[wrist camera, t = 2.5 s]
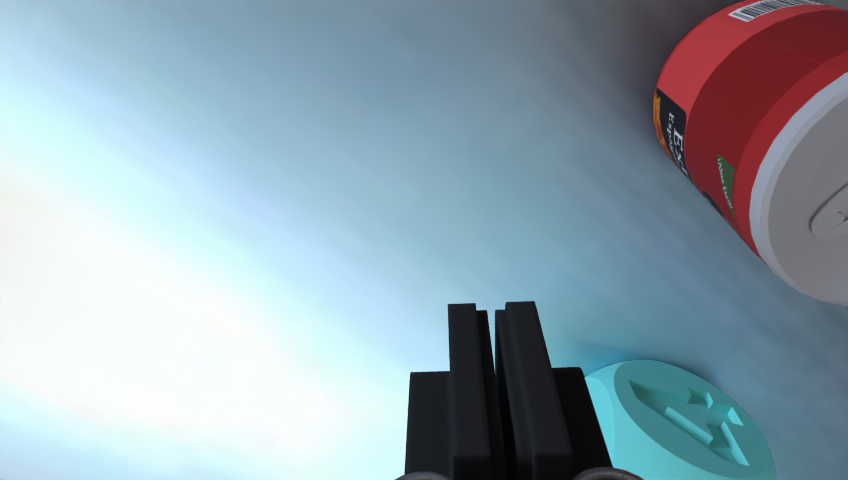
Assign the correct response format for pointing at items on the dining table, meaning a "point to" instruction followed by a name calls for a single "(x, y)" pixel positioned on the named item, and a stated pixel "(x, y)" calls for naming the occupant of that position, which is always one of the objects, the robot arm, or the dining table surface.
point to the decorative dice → (675, 425)
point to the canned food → (767, 132)
